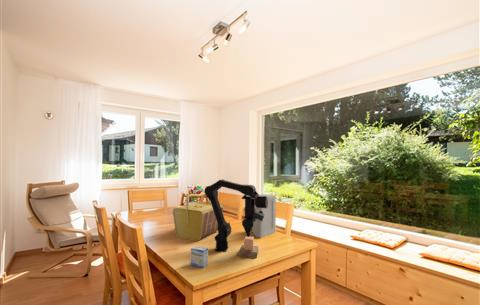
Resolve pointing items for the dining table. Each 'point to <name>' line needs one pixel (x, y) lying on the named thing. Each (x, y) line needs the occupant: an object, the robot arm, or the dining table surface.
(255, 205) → the robot arm
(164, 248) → the dining table surface
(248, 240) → the terracotta block
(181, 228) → the picnic basket
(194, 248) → the medicine box
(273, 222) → the grey upright carton
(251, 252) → the walnut base
